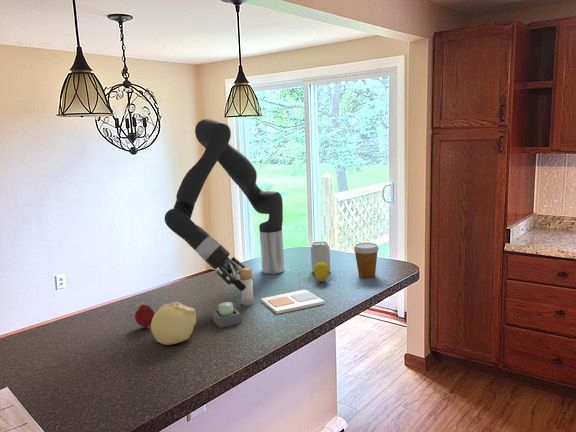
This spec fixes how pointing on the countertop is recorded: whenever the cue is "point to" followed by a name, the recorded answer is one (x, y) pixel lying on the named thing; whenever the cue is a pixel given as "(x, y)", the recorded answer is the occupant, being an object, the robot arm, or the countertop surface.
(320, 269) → the lemon
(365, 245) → the disposable coffee cup
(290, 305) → the picture board
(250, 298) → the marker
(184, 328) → the pale yellow lumpy ball
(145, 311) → the onion
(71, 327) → the countertop surface
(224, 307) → the button
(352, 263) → the countertop surface
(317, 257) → the can
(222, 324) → the button housing
